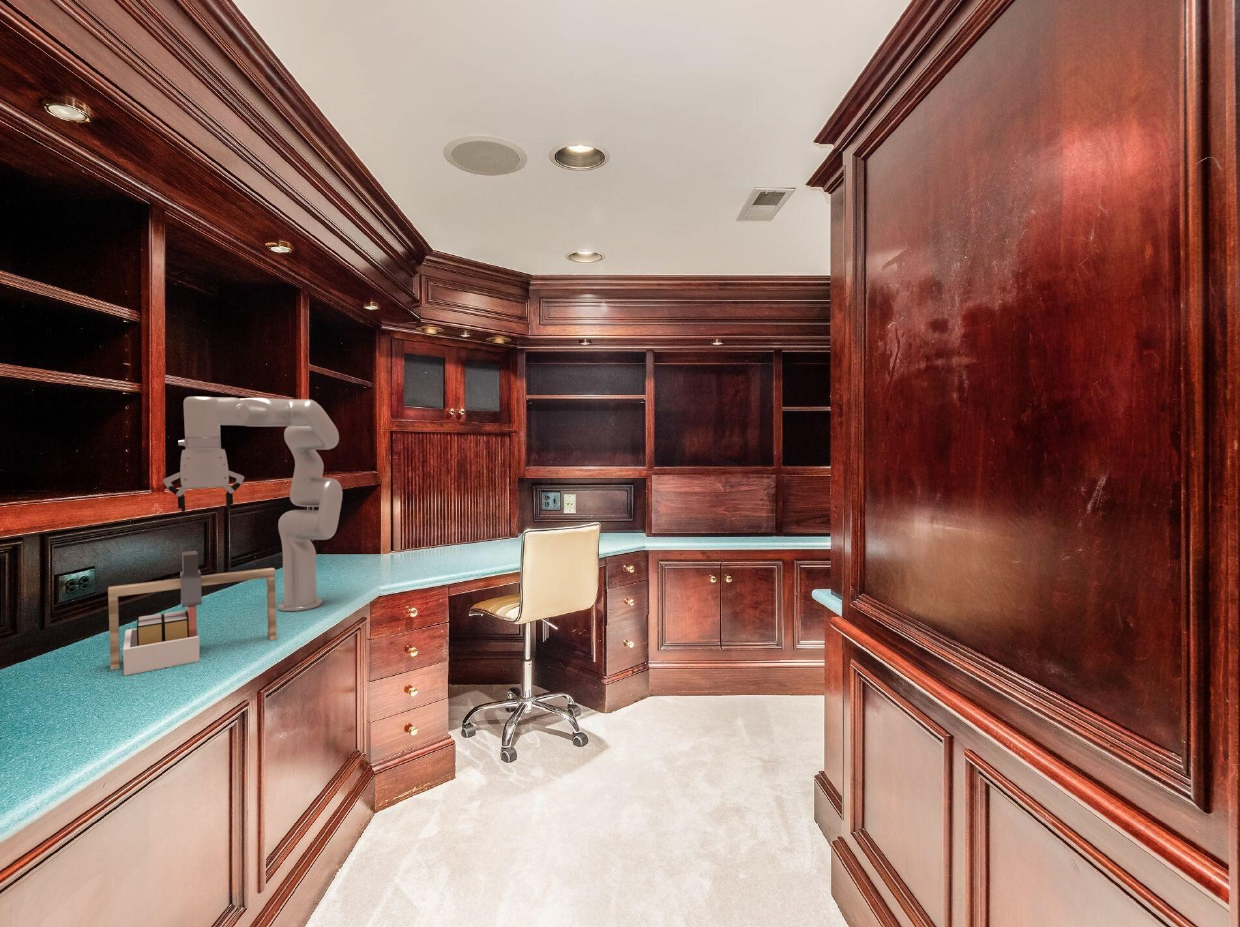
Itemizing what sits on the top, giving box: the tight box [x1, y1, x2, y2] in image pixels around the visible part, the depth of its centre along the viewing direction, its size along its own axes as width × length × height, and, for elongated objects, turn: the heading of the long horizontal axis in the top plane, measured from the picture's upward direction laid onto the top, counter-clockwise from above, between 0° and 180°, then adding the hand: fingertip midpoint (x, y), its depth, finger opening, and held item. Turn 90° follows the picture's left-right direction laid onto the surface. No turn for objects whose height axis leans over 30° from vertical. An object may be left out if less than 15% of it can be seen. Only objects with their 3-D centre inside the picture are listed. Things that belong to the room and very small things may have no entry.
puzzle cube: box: [136, 609, 189, 646], centre depth 146 cm, size 10×10×10 cm
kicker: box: [179, 550, 203, 637], centre depth 150 cm, size 9×4×24 cm, turn 39°
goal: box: [122, 627, 201, 677], centre depth 146 cm, size 18×14×6 cm
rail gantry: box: [107, 567, 278, 671], centre depth 151 cm, size 6×34×19 cm, turn 129°
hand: (206, 509), depth 153 cm, fingers open, 9 cm apart
